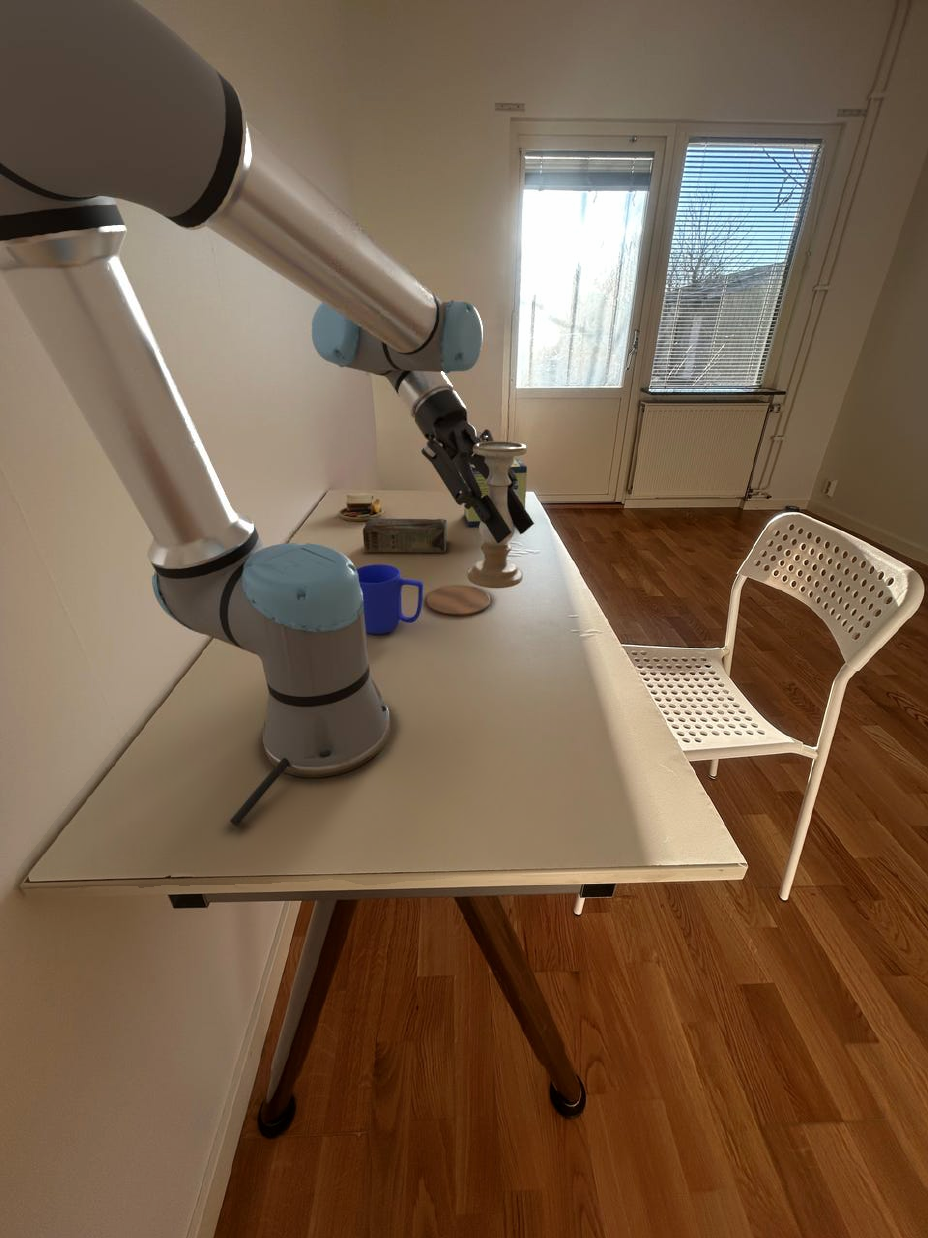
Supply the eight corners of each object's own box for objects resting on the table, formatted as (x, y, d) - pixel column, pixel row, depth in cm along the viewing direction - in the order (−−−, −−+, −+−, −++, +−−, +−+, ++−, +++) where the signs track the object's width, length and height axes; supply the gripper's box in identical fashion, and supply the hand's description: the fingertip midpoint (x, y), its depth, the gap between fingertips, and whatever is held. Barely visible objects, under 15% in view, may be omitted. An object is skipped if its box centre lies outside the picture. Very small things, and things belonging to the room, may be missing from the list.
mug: (418, 643, 84) (415, 587, 79) (348, 636, 86) (341, 581, 81) (431, 620, 91) (429, 567, 86) (366, 613, 93) (360, 562, 88)
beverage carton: (446, 554, 119) (445, 526, 116) (363, 554, 119) (360, 526, 116) (447, 542, 126) (446, 515, 123) (369, 542, 126) (366, 516, 123)
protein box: (463, 515, 145) (462, 459, 138) (517, 513, 146) (520, 457, 139) (467, 527, 136) (467, 467, 128) (525, 525, 137) (528, 465, 130)
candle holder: (464, 568, 85) (465, 440, 76) (516, 566, 86) (524, 439, 76) (470, 590, 77) (472, 450, 68) (527, 588, 78) (537, 450, 69)
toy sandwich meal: (333, 522, 140) (331, 505, 138) (345, 508, 152) (343, 492, 150) (379, 522, 140) (377, 505, 138) (387, 508, 152) (386, 492, 149)
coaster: (468, 621, 90) (468, 619, 90) (413, 605, 96) (413, 603, 96) (501, 596, 99) (501, 594, 99) (450, 582, 105) (450, 581, 104)
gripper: (460, 416, 86) (535, 532, 84) (378, 428, 74) (462, 562, 72) (485, 383, 81) (566, 506, 79) (400, 390, 69) (492, 534, 67)
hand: (516, 533), depth 76 cm, fingers closed on candle holder, 5 cm apart
